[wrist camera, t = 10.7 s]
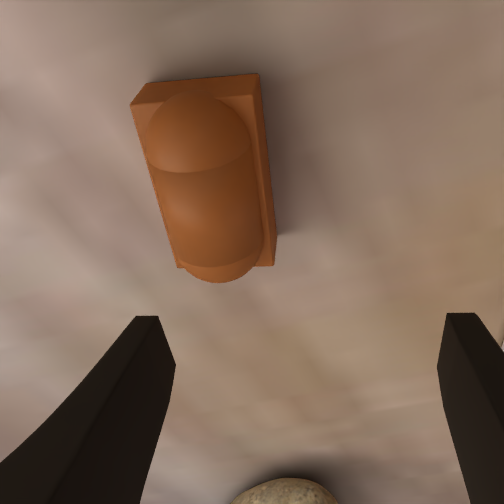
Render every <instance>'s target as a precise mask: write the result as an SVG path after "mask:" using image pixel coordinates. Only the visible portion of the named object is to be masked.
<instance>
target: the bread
mask: <svg viewBox="0 0 504 504" xmlns="http://www.w3.org/2000/svg"><path fill="white" fill-rule="evenodd" d="M130 108H131V112H132V115H133V119H134V122H135V125H136V129H137V132H138V136H139V139H140V143H141V146H142V149H143V153H144V156H145V160H146V163H147V166H148V170H149V173H150V177H151V180H152V183H153V187H154V190H155V194H156V197H157V200H158V204H159V207H160V211H161V214H162V217H163V221H164V224H165V228H166V231H167V235H168V238H169V241H170V245H171V248H172V252H173V255H174V258H175V262H176V265H177V268H185V269H186V270H187V271H188V272H189V273H190V274H192V275H193V276H195V277H196V278H199V279H201V280H204V281H207V282H212V283H224V282H229V281H233V280H235V279H238V278H240V277H242V276H243V275H244V274H246V273H247V272H248V271H249V270H250V269H251V268H252V267H255V266H273V265H274V261H275V251H276V242H277V232H276V223H275V214H274V205H273V196H272V187H271V178H270V169H269V160H268V151H267V142H266V133H265V124H264V115H263V106H262V97H261V88H260V79H259V75H258V74H247V75H235V76H224V77H212V78H201V79H189V80H178V81H166V82H155V83H146V84H145V85H144V86H143V88H142V89H141V90H140V92H139V93H138V94H137V96H136V97H135V98H134V100H133V101H132V102H131V104H130Z"/></svg>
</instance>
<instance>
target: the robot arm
mask: <svg viewBox="0 0 504 504" xmlns="http://www.w3.org/2000/svg"><path fill="white" fill-rule="evenodd" d="M175 367H176V364H175V361H174V358H173V355H172V353H171V350H170V347H169V344H168V342H167V339H166V336H165V334H164V331H163V328H162V325H161V323H160V320H159V317H158V316H136V317H135V318H134V319H133V320H132V321H131V322H130V324H129V325H128V326H127V327H126V328H125V330H124V331H123V332H122V333H121V335H120V336H119V337H118V338H117V340H116V341H115V342H114V343H113V345H112V346H111V347H110V348H109V350H108V351H107V352H106V353H105V354H104V356H103V357H102V358H101V359H100V360H99V362H98V363H97V364H96V365H95V366H94V368H93V369H92V370H91V371H90V372H89V373H88V375H87V376H86V377H85V378H84V379H83V380H82V382H81V383H80V384H79V385H78V386H77V387H76V388H75V390H74V391H73V392H72V393H71V394H70V395H69V396H68V397H67V398H66V399H65V400H64V402H63V403H62V404H61V405H60V406H59V407H58V408H57V409H56V410H55V411H54V412H53V413H52V414H51V415H50V416H49V418H48V419H47V420H46V421H45V422H44V423H43V424H42V425H41V426H40V427H39V428H38V429H37V430H36V431H34V432H33V433H32V434H31V435H30V436H29V437H28V438H27V439H26V440H25V441H24V442H23V443H22V444H21V445H20V446H19V447H18V448H16V449H15V450H14V451H13V452H12V453H11V454H10V455H9V456H7V457H6V458H5V459H4V460H3V461H2V462H1V463H0V504H140V500H141V496H142V492H143V488H144V485H145V481H146V478H147V475H148V471H149V468H150V465H151V461H152V458H153V455H154V452H155V448H156V445H157V442H158V439H159V435H160V432H161V429H162V425H163V422H164V419H165V415H166V412H167V409H168V405H169V402H170V396H171V391H172V386H173V380H174V373H175ZM437 370H438V377H439V383H440V390H441V396H442V401H443V407H444V411H445V415H446V418H447V422H448V425H449V429H450V432H451V436H452V440H453V443H454V446H455V450H456V453H457V457H458V460H459V464H460V467H461V471H462V474H463V478H464V481H465V485H466V488H467V492H468V495H469V499H470V503H471V504H504V341H503V344H502V347H501V348H500V346H499V345H498V343H497V342H496V341H495V339H494V338H493V337H492V335H491V334H490V332H489V331H488V330H487V328H486V327H485V325H484V324H483V322H482V321H481V319H480V318H479V317H478V316H477V315H476V314H475V313H447V315H446V321H445V326H444V331H443V337H442V342H441V348H440V353H439V358H438V364H437Z"/></svg>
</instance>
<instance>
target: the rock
mask: <svg viewBox="0 0 504 504" xmlns="http://www.w3.org/2000/svg"><path fill="white" fill-rule="evenodd" d="M230 504H338V502H337V501H336V499H335V498H334V497H333V496H332V495H331V494H330V493H329V492H328V491H327V490H326V489H325V488H323V487H322V486H321V485H319V484H317V483H315V482H313V481H310V480H306V479H300V478H280V479H274V480H271V481H268V482H265V483H262V484H260V485H257V486H255V487H253V488H251V489H249V490H247V491H245V492H243V493H241V494H240V495H239V496H237V497H236V498H235V499H234V500H233V502H231V503H230Z"/></svg>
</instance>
